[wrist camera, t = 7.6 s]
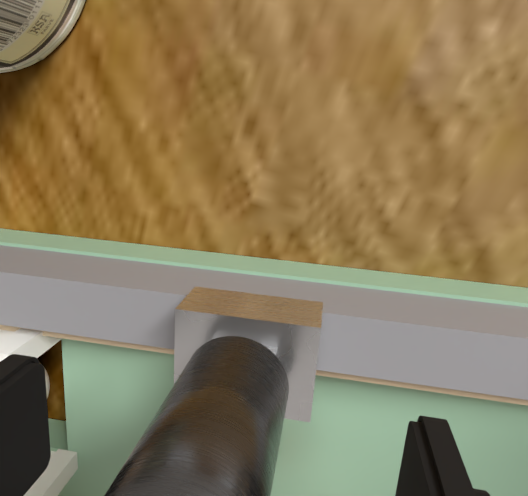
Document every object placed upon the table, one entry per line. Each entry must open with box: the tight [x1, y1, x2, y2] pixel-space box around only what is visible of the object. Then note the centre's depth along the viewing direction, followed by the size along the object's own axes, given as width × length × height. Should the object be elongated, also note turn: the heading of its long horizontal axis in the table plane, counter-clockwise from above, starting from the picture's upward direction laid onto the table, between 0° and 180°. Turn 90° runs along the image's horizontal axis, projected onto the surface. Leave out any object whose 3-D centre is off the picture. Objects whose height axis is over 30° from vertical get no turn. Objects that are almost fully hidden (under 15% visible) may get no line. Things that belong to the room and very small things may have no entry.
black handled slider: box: [104, 286, 323, 496], centre depth 13 cm, size 4×10×13 cm, turn 176°
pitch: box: [0, 228, 528, 496], centre depth 20 cm, size 30×14×6 cm, turn 86°
